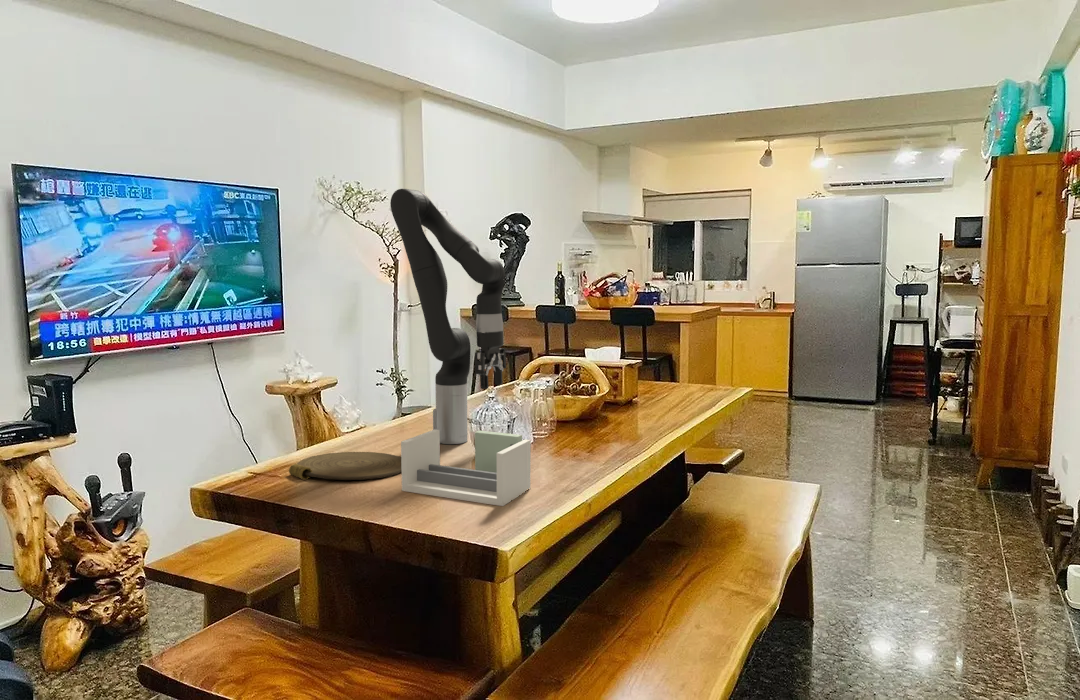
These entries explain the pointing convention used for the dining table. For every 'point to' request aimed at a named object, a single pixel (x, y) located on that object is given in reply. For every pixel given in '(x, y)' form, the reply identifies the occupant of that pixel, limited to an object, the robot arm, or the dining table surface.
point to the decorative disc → (348, 466)
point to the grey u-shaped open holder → (464, 472)
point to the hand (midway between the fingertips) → (491, 386)
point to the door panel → (491, 448)
